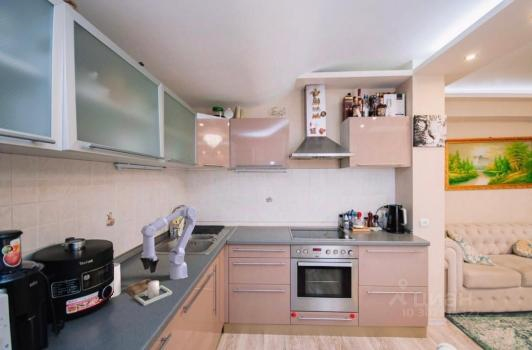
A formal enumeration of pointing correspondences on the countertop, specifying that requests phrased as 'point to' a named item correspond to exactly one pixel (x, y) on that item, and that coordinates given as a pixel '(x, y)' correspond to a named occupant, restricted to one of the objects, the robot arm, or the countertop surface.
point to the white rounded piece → (152, 289)
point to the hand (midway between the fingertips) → (149, 270)
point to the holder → (138, 287)
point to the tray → (153, 298)
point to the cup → (116, 280)
